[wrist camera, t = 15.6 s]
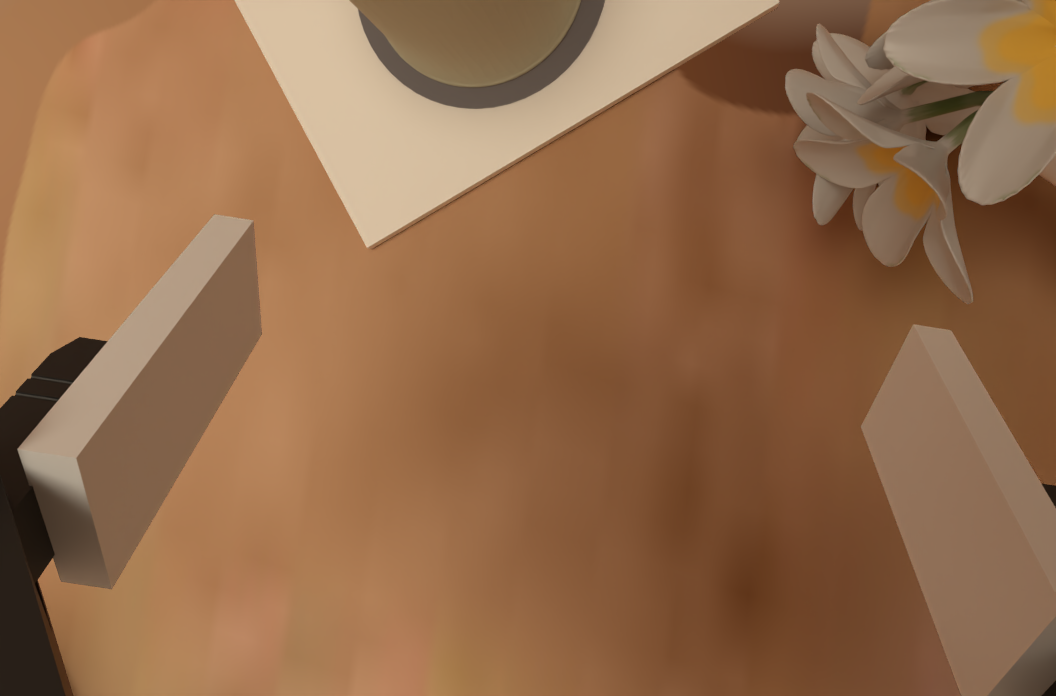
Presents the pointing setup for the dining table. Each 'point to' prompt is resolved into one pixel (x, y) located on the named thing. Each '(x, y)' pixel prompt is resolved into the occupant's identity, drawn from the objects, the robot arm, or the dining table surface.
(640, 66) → the card
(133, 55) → the dining table surface
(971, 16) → the flower vase
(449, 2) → the can
